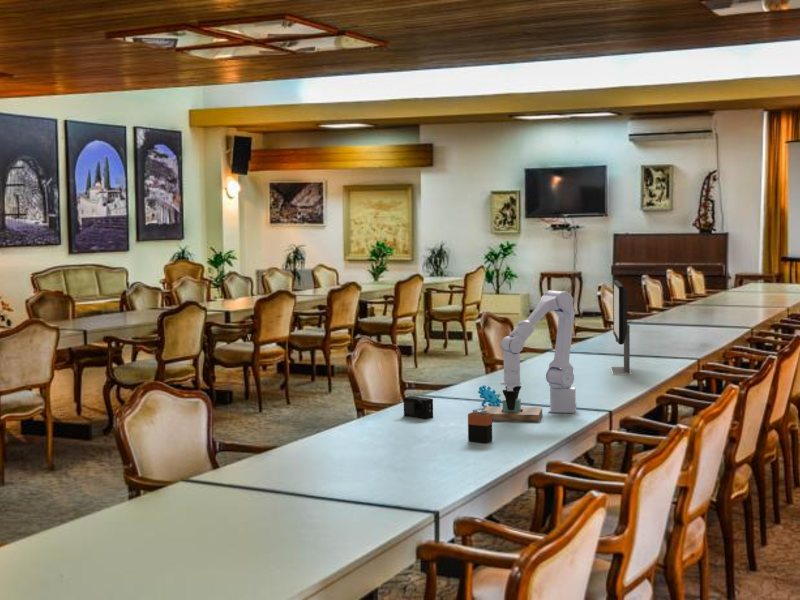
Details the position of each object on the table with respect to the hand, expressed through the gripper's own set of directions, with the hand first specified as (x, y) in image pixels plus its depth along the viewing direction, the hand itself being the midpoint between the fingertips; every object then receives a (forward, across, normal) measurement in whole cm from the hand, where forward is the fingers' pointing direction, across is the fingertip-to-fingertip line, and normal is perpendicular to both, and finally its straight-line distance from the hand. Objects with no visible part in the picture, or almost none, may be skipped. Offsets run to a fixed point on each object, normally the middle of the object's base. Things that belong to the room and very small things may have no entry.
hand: (512, 408), depth 374 cm
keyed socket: (+3, 0, 0) cm, 3 cm away
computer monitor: (+4, -112, +37) cm, 118 cm away
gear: (+4, -22, -10) cm, 24 cm away
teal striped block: (+3, 0, 0) cm, 3 cm away
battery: (+4, +40, -6) cm, 41 cm away
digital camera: (+4, +3, -34) cm, 34 cm away
